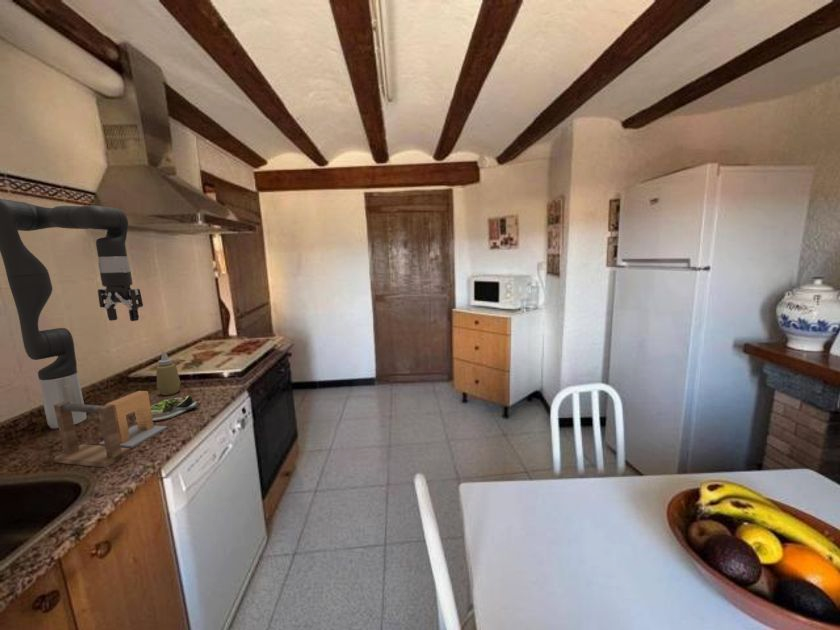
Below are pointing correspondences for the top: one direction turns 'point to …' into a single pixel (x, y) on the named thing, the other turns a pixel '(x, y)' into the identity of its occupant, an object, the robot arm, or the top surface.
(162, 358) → the squeeze bottle
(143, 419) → the link
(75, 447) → the stand
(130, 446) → the mat
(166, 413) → the salad plate
